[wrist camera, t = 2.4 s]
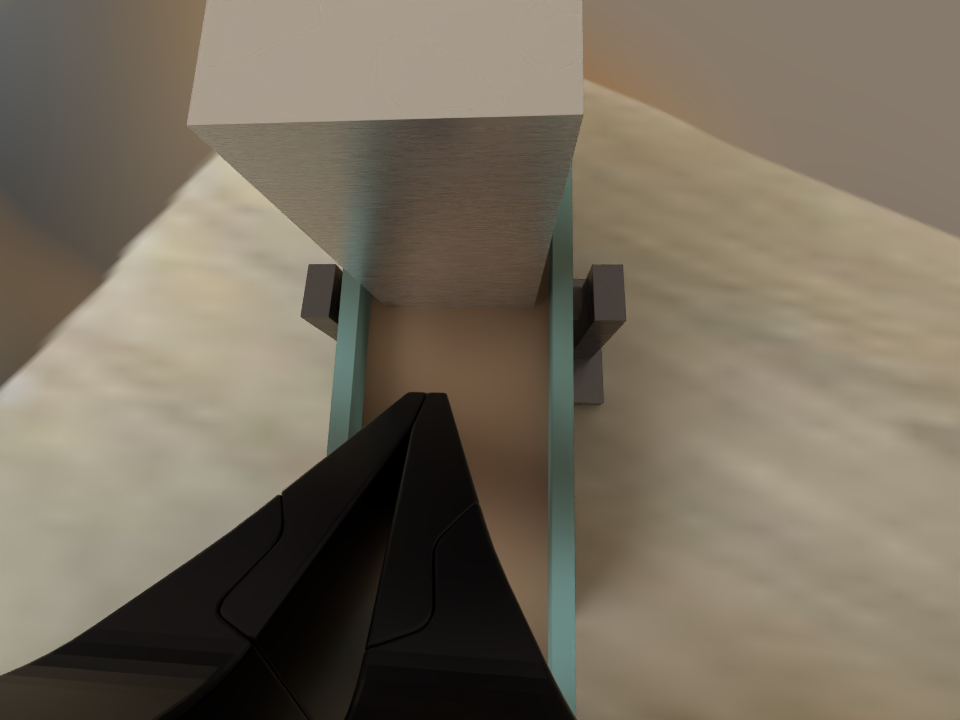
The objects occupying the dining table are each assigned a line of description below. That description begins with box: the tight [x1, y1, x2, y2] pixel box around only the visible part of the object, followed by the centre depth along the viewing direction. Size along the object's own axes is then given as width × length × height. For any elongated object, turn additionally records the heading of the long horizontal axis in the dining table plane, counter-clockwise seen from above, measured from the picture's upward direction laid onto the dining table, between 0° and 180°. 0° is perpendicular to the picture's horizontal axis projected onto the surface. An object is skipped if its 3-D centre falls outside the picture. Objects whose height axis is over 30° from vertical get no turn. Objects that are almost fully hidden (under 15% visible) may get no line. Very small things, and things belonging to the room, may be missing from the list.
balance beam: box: [327, 161, 582, 717], centre depth 14 cm, size 26×8×5 cm, turn 178°
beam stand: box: [301, 264, 626, 405], centre depth 16 cm, size 6×12×6 cm, turn 88°
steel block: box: [187, 0, 584, 308], centre depth 9 cm, size 5×5×8 cm
